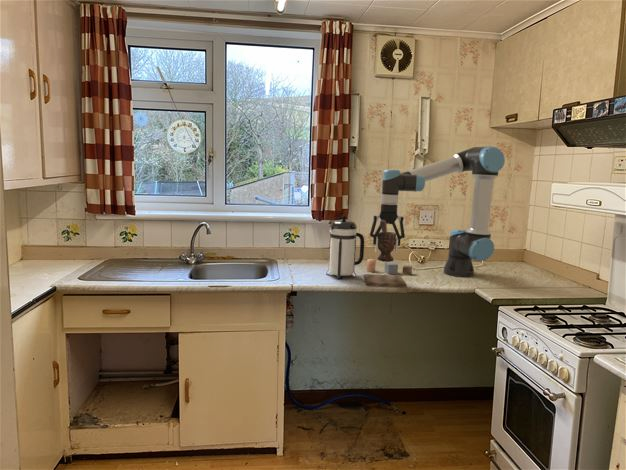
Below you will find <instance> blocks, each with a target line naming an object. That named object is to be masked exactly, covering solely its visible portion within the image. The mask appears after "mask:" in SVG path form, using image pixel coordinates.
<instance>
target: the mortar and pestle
mask: <svg viewBox="0 0 626 470" xmlns="http://www.w3.org/2000/svg"><path fill="white" fill-rule="evenodd" d="M379 225H380V226H381V231H380V232H379V234H378V236H377V237H376V238H378V248H377V250H379V252H380V254H379V256H378V257H377V261H380V262H383V263H388V262H394V257H393V256H392V255H391V253H392V252H393V251H394V250H395V242H396V238H397V235H396V233H395V231H394V232H393V231H388V224H387V223H386V221H385V220H381V219H380V221H379Z"/></svg>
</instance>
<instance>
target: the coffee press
mask: <svg viewBox="0 0 626 470" xmlns="http://www.w3.org/2000/svg"><path fill="white" fill-rule="evenodd" d="M347 218H348V217H347V215H344V214H343V215H342V216H341V219H335V220H333V221H332V222H331V224H330V225H329V226H330V228H329V233H330V234H329V236H330V237H329V238H330V239H329V257H328V260H329V261H328V270H327V271H326V273H325V274H326V275H327V276H329V275H330V274H332V275H335V276H337V277H336V280H338V281H339V280H340V279H341V277H344V276H352V277H353V278H354V279H355V278H357V273H356V272H355V270H356V269H355V266H358V265H360V264H361V263H362V261H363V259H364V256H365V255H364V253H365V238H364V237H365V236H364V235H363V234H362V233H360V232H357V229H358V226H357V223H355V221H352V220H349V219H347ZM357 237H358V239H359V241H360V243H359V244H360V245H359V257H358V259H357V260H356V247H357ZM328 272H329V273H328ZM353 274H354V275H355V276H354V275H353Z"/></svg>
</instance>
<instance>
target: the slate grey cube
mask: <svg viewBox="0 0 626 470" xmlns="http://www.w3.org/2000/svg"><path fill="white" fill-rule="evenodd" d="M398 269H399V264H398V263H396V262H394V261H391V262H384V269H383V271H384V273H386V275H398V274H399V272H398Z"/></svg>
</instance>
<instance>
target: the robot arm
mask: <svg viewBox="0 0 626 470" xmlns="http://www.w3.org/2000/svg"><path fill="white" fill-rule="evenodd" d="M505 160H506V159H505V154H504V153H503V151H502V150H501V149H500V148H498V147H496V146H490V145H489V146H488V145H487V146H475V147H474V146H473V147H471V148H468V149H465V150H463V151H460V152H457V153H455V154H453V155H452V156H451V157H447V158H445V159H442V160H439V161H436V162H432V163H429V164H426V165H423V166H419V167H417V168H414V169H410V170H407V171H405V172H401V171H400V170H399V169H384V170H383V173H382V185H381V186H382V187H381V199H380V202H381V204H380V212H379V214H377V215H376V214H374V215H373V221H372V224H371V228H370V233H369V236H370V237H371V238H372V239H373V240H372V244H373V245H374V247H375V248H374V253H378V238H377V236H378V234H379V232H381V231H382V229H381V226H380V224H379V225H378V227H377V229H376V230H375V228H376V225H377V222H378V220H379V219H380V221H381V220H385V221H386V223H387V225H392V228H393V230H394V233H396V242H395V247H394V254H398V247H400V246H401V240H402V239H404V238H406V235H405V229H404V218H405V217H404V216H402V215H400V216H399V215H398V207H399V206H398V203H399V194H400V193H399V192H416V193H417V192H422V191H423V190H424V189H425V186H426V182H428V181H431V180H434V179H437V178H438V179H439V178H441V177H444V176H447V175H450V174H453V173H458V174H460V173H463V172H470V171H471V175H472V177H473V178H474V183H473V194H472V202H471V208H470V209H471V210H470V211H471V212H470V217H469V218H470V219H469V227H468V228H467V229H452V230H451V231H450V233H449V245H448V254H447V255H448V257H447V260H446V262H445V264H444V266H443V273H444V274H445V275H446V274H447V275H449V276H453V277H461V278H462V277H463V278H464V277H465V278H467V277H474V275H475V268H474V265H473V261H478V262H482V261H486V260H488V259H489V258H491V256H492V255H493V254H494V251H495V243H494V241H493V240H492V239H491V237H492V236H491V235H492V233H491V231H490V230H489V225H490V224H489V223H490V218H491V217H490V216H491V209H492V200H493V191H494V182H495V179H496V178H498V177H499V171H501V170H502V168H503V167H504V165H505V162H506V161H505ZM397 220H398V221H399V230H398V228H397V225H396V221H397ZM399 231H400V232H399ZM472 260H473V261H472Z"/></svg>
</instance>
